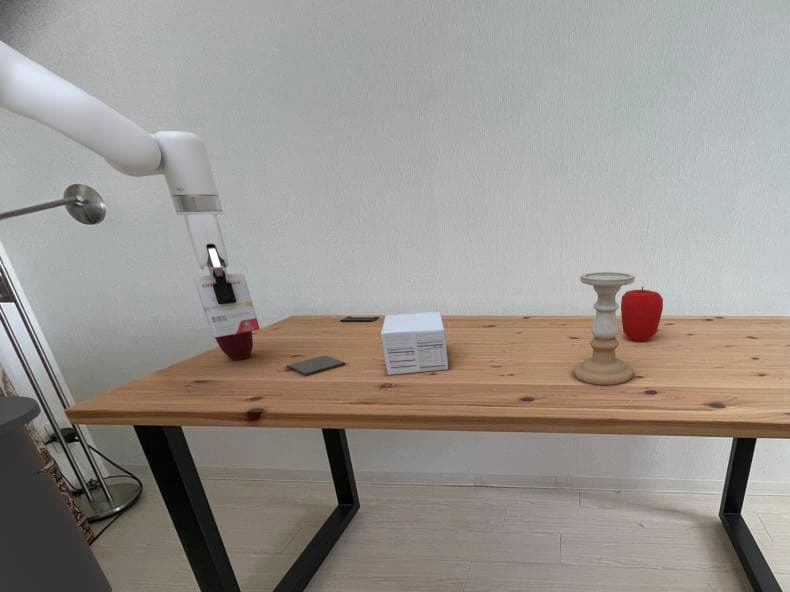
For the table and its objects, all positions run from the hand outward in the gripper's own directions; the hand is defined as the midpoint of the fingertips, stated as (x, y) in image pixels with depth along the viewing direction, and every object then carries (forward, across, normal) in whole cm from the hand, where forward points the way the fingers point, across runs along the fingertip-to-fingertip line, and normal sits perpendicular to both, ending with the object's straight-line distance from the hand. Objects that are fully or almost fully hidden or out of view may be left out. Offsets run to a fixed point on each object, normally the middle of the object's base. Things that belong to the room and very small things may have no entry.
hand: (226, 300), depth 95 cm
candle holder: (+16, +51, +60) cm, 80 cm away
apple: (+16, +37, +86) cm, 95 cm away
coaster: (+15, +7, +13) cm, 21 cm away
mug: (+16, -10, 0) cm, 19 cm away
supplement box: (+16, +18, +33) cm, 40 cm away
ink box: (+7, 0, 0) cm, 7 cm away
